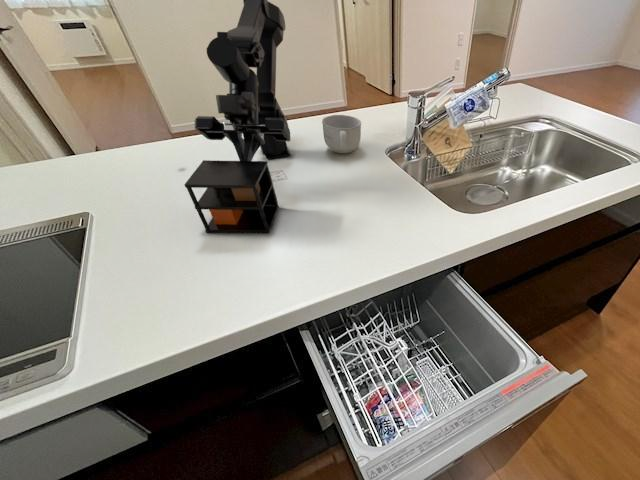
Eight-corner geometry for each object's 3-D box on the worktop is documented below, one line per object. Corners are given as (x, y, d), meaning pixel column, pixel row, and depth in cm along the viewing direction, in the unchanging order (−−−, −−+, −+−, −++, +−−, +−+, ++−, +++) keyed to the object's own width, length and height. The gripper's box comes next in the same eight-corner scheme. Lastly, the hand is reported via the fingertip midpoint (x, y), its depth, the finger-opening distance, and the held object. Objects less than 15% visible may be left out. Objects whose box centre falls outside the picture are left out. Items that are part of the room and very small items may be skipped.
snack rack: (221, 207, 79) (203, 160, 71) (279, 207, 80) (267, 161, 72) (206, 233, 72) (184, 184, 64) (269, 233, 73) (255, 185, 65)
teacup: (328, 140, 105) (325, 112, 100) (364, 142, 106) (362, 114, 100) (320, 161, 96) (316, 131, 90) (359, 163, 96) (357, 133, 90)
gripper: (178, 72, 67) (179, 153, 68) (275, 74, 68) (276, 154, 69) (207, 103, 78) (208, 172, 79) (290, 105, 79) (291, 173, 80)
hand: (244, 168), depth 76 cm, fingers closed
